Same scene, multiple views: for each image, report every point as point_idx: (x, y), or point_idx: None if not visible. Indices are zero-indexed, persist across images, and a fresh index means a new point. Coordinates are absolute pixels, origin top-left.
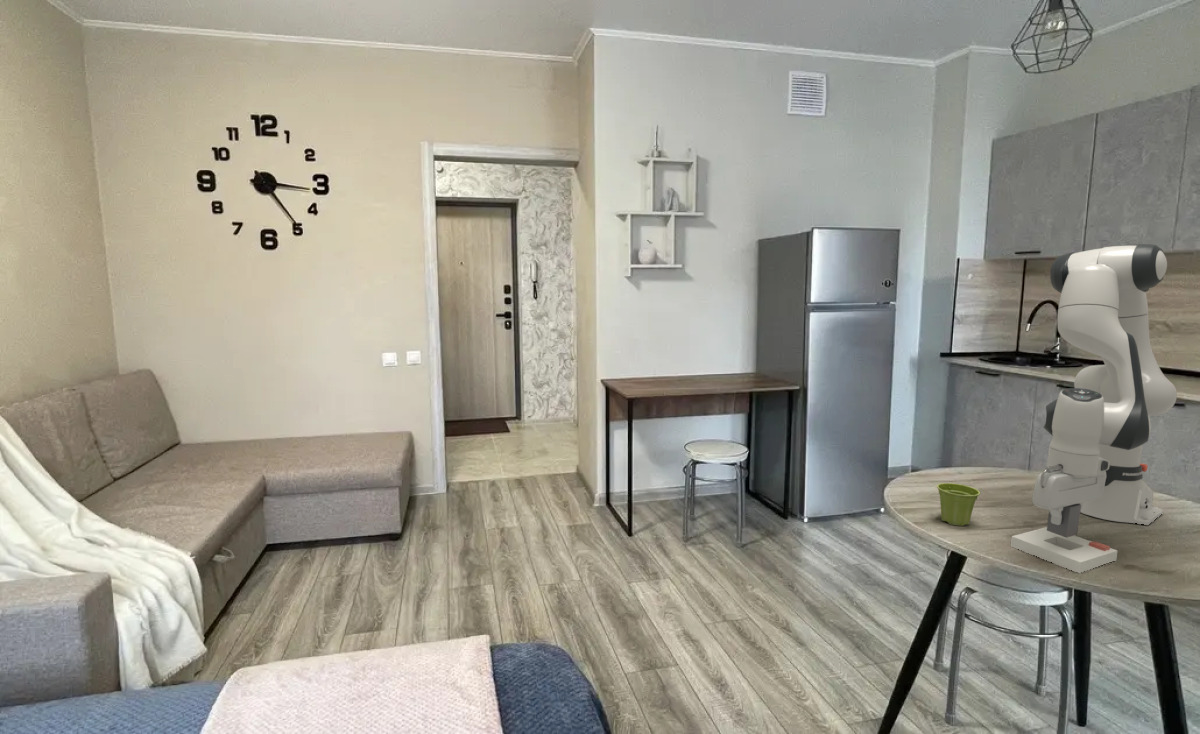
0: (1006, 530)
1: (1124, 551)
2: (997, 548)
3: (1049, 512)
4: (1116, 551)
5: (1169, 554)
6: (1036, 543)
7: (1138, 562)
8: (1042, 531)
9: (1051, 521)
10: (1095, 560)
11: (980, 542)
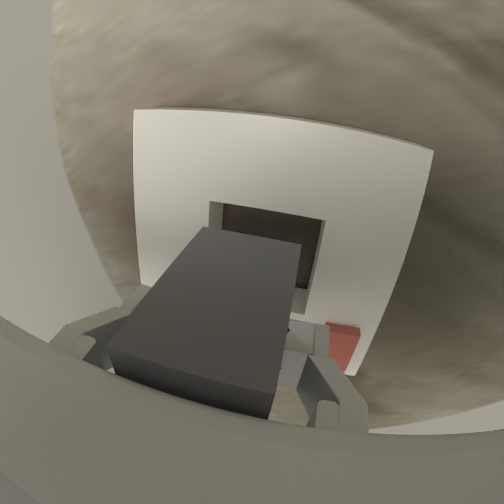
0: (327, 9)
1: (456, 340)
2: (106, 99)
3: (153, 286)
4: (350, 373)
5: (492, 385)
6: (152, 201)
7: (392, 375)
8: (334, 154)
9: (139, 287)
10: None
11: (104, 44)
